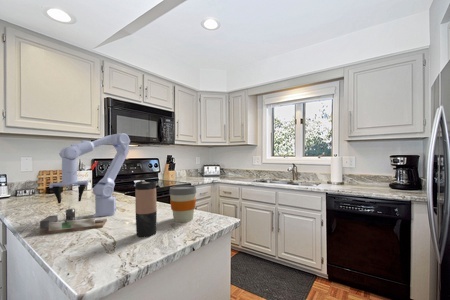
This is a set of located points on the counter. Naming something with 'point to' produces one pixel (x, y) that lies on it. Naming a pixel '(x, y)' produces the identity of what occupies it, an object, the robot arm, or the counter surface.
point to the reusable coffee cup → (183, 202)
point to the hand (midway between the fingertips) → (69, 202)
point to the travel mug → (145, 208)
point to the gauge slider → (70, 215)
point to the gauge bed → (68, 224)
